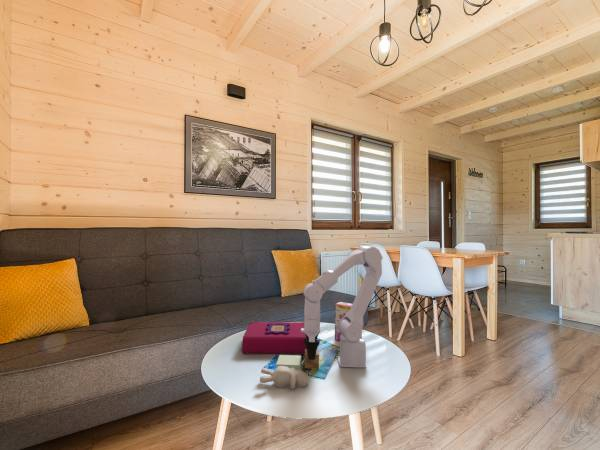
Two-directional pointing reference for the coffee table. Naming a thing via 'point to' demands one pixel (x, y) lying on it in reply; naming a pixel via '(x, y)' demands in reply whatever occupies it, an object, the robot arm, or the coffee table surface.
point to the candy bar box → (340, 316)
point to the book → (274, 338)
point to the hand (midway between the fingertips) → (311, 354)
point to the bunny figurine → (285, 377)
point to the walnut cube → (312, 361)
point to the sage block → (289, 361)
